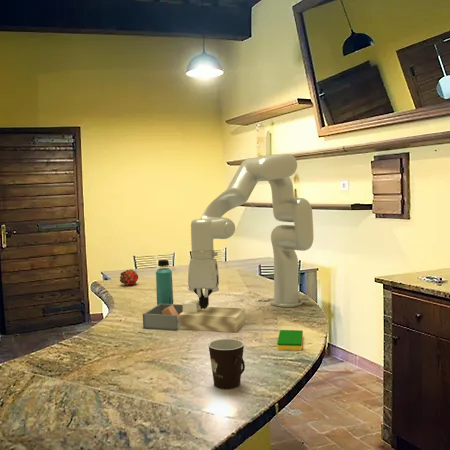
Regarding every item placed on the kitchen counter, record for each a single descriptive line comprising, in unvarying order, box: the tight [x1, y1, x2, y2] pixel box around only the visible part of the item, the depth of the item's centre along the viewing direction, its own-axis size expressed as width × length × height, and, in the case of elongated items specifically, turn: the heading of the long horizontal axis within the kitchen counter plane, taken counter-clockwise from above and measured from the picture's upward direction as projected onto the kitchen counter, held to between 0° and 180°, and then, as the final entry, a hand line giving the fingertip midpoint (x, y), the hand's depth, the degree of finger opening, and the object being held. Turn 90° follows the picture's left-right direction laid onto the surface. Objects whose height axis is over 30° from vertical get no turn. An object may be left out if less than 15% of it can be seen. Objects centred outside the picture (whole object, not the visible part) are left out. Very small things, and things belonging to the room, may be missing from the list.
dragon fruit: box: [119, 268, 139, 287], centre depth 253 cm, size 8×8×12 cm
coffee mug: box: [208, 338, 246, 390], centre depth 125 cm, size 12×9×10 cm
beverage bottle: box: [155, 259, 175, 306], centre depth 199 cm, size 6×7×20 cm
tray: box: [142, 303, 183, 331], centre depth 182 cm, size 12×15×5 cm
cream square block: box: [182, 299, 201, 313], centre depth 180 cm, size 5×5×3 cm
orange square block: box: [162, 305, 179, 319], centre depth 182 cm, size 5×5×3 cm
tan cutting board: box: [178, 306, 246, 333], centre depth 178 cm, size 20×12×5 cm, turn 74°
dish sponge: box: [276, 329, 304, 351], centre depth 158 cm, size 7×14×2 cm, turn 170°
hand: (204, 307), depth 178 cm, fingers closed
